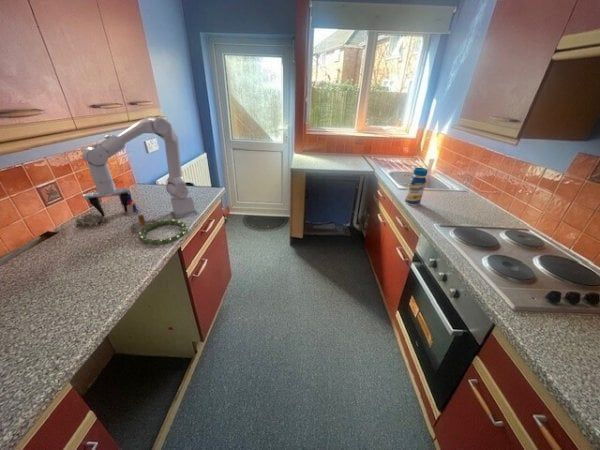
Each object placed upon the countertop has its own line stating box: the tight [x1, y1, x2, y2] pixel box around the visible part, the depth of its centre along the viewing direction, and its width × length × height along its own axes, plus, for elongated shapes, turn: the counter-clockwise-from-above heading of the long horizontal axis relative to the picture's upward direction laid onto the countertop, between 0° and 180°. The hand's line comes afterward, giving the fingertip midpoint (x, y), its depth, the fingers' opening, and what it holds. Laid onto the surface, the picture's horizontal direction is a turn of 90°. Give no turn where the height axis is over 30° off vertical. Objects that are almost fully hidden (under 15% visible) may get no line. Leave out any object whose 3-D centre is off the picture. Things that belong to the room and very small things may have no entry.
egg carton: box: [72, 212, 106, 227], centre depth 109 cm, size 11×8×4 cm
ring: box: [137, 219, 189, 246], centre depth 103 cm, size 18×18×2 cm
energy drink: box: [118, 189, 138, 215], centre depth 118 cm, size 5×5×12 cm
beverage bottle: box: [404, 167, 429, 207], centre depth 139 cm, size 8×8×20 cm
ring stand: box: [137, 214, 147, 227], centre depth 108 cm, size 8×8×6 cm
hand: (115, 213), depth 100 cm, fingers open, 7 cm apart
